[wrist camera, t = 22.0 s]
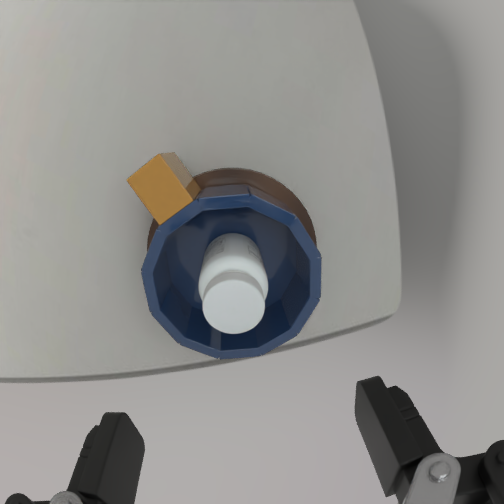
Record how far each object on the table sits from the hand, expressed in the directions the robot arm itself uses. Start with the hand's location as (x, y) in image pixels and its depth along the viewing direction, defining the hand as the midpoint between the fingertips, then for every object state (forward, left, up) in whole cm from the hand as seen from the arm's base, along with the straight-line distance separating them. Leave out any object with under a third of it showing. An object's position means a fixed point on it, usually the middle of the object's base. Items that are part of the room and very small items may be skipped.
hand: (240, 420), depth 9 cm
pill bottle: (0, 0, -16) cm, 16 cm away
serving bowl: (+1, -1, -16) cm, 16 cm away
